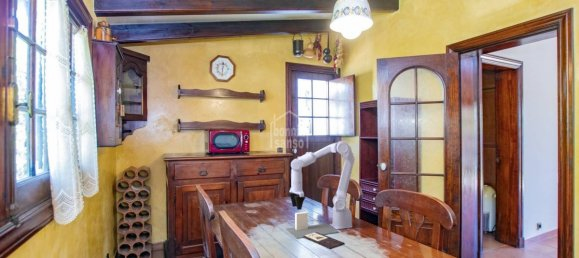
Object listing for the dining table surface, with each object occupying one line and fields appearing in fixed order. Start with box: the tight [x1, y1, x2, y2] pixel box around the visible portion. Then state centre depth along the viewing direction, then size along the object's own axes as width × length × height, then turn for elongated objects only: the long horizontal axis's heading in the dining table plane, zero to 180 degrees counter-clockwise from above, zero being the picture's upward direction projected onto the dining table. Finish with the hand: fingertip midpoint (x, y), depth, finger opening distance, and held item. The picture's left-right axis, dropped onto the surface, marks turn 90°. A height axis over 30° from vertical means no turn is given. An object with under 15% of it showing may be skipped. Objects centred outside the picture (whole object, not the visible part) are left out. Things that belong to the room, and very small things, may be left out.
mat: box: [286, 223, 339, 240], centre depth 150 cm, size 22×14×1 cm, turn 110°
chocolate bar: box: [303, 232, 346, 250], centre depth 137 cm, size 9×1×18 cm
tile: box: [294, 211, 309, 230], centre depth 152 cm, size 6×2×8 cm, turn 110°
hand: (296, 207), depth 158 cm, fingers open, 6 cm apart
